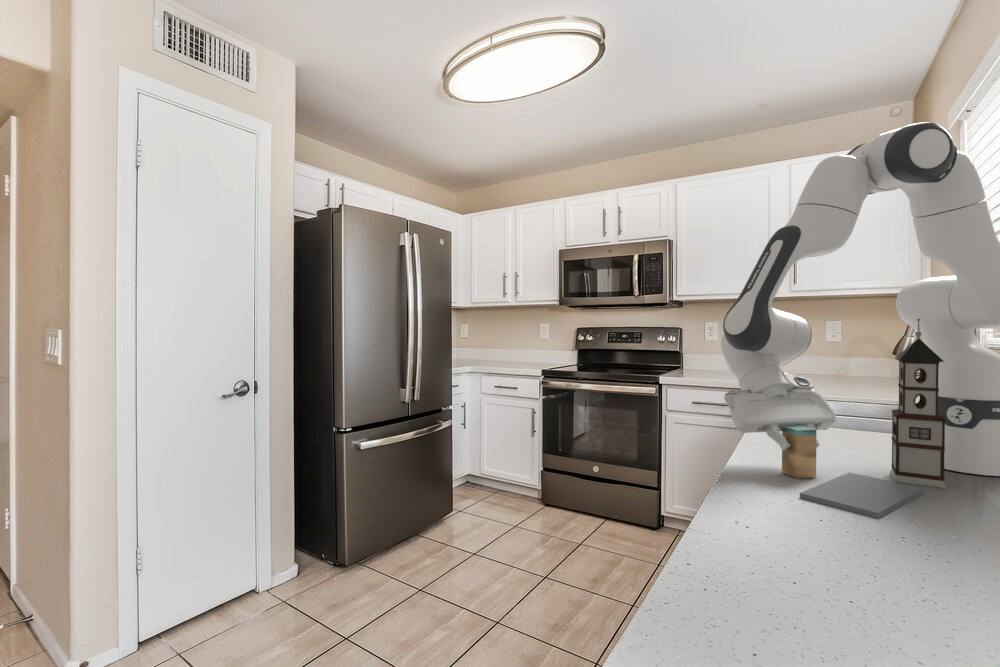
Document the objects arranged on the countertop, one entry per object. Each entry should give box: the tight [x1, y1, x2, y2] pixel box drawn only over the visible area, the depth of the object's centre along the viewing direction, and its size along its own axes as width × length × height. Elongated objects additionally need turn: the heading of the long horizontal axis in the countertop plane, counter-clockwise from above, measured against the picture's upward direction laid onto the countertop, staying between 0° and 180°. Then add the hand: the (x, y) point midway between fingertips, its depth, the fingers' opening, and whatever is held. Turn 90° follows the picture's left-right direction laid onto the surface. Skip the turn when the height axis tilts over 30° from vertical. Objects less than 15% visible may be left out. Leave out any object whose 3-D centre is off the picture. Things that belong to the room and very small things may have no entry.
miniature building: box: [889, 319, 947, 489], centre depth 93 cm, size 7×7×30 cm
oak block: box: [781, 426, 817, 479], centre depth 96 cm, size 4×4×9 cm
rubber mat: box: [799, 472, 924, 519], centre depth 85 cm, size 20×11×1 cm, turn 125°
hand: (801, 447), depth 95 cm, fingers closed on oak block, 4 cm apart
